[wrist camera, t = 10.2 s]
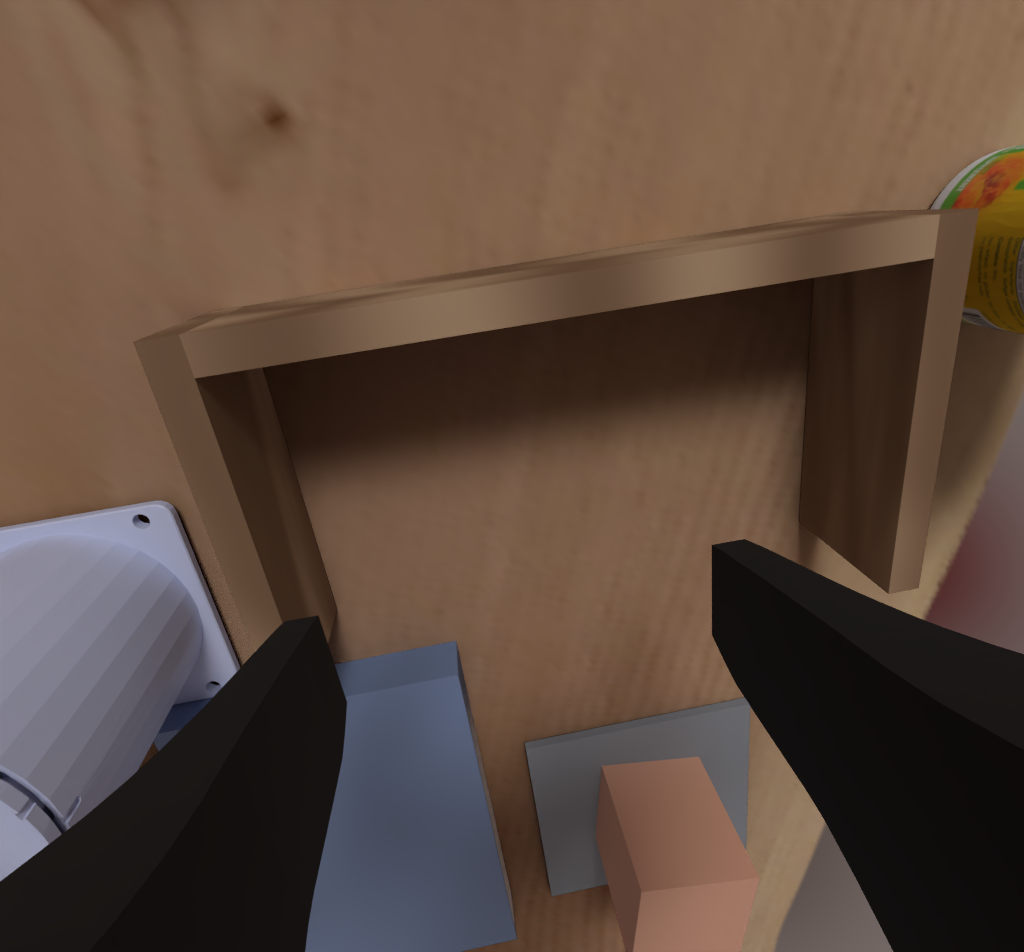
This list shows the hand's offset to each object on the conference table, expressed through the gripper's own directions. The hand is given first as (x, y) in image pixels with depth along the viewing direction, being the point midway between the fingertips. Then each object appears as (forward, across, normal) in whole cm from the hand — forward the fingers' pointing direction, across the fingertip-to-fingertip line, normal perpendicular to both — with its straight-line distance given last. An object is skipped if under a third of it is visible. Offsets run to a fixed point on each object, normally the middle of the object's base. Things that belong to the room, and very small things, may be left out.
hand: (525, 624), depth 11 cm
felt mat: (+10, -4, +19) cm, 22 cm away
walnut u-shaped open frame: (+10, -2, 0) cm, 11 cm away
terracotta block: (+10, -5, +19) cm, 22 cm away
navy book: (+11, +8, +16) cm, 21 cm away
